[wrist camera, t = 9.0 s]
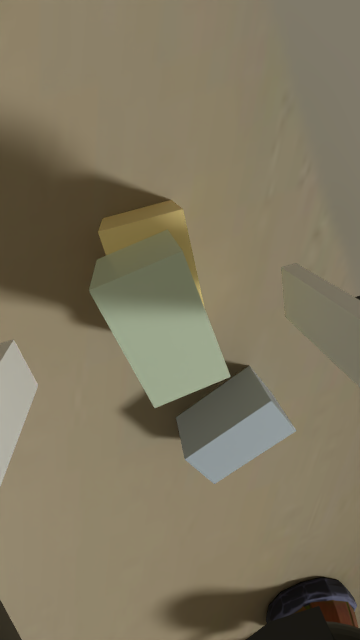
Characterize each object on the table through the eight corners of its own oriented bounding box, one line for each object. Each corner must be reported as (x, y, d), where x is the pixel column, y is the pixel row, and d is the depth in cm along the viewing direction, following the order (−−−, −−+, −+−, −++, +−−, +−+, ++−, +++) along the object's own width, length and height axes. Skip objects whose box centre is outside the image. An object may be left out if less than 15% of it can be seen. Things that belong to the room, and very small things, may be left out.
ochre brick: (198, 320, 22) (214, 352, 19) (142, 336, 22) (146, 371, 18) (170, 199, 19) (182, 209, 15) (102, 217, 19) (98, 231, 15)
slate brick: (201, 439, 27) (214, 484, 23) (175, 416, 26) (184, 459, 22) (271, 392, 26) (296, 430, 22) (248, 364, 25) (271, 400, 21)
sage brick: (208, 332, 18) (231, 376, 14) (147, 357, 18) (154, 408, 14) (167, 229, 15) (182, 250, 12) (96, 259, 15) (88, 290, 12)
